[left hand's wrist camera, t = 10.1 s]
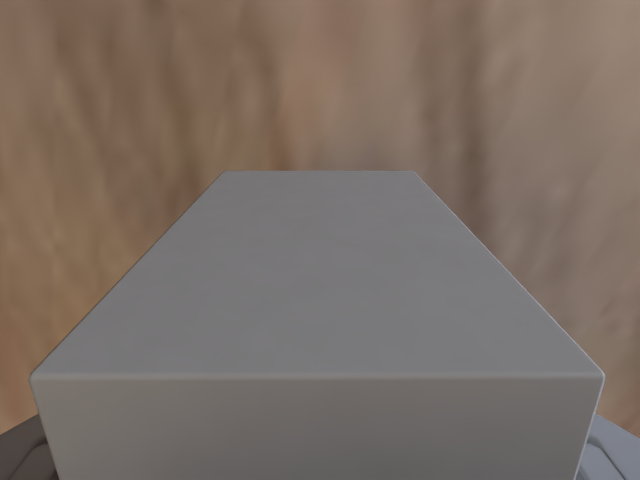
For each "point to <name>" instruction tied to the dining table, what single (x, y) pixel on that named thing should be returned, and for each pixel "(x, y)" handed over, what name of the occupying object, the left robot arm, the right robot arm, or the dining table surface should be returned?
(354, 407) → the bar
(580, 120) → the dining table surface
